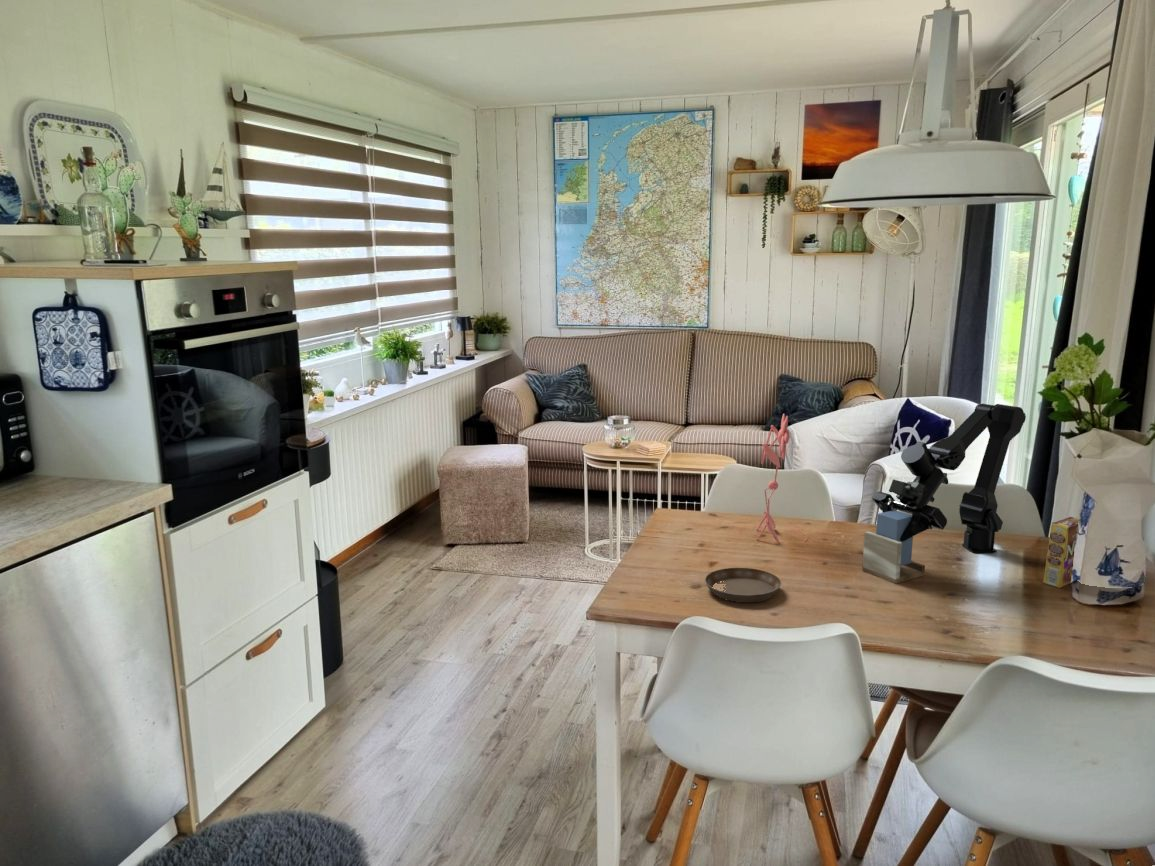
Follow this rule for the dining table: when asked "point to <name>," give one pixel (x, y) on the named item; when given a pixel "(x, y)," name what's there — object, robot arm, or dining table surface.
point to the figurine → (783, 439)
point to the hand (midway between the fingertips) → (890, 537)
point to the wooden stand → (887, 559)
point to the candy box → (1061, 552)
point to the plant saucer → (743, 584)
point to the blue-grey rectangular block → (896, 531)
